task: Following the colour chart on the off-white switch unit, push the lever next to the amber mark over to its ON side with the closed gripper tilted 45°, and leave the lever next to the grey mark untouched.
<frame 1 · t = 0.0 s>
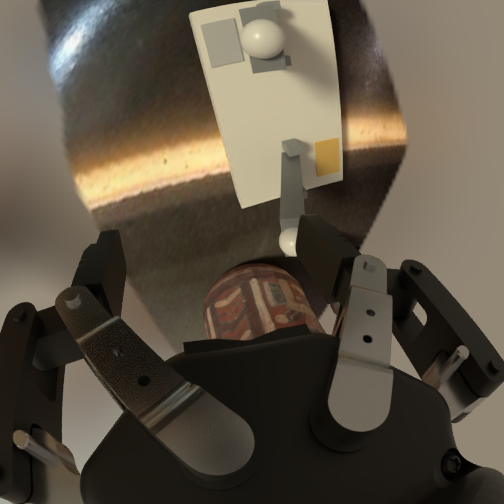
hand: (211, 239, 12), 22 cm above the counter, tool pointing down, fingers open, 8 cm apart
grey marked lever: (267, 35, 16), point 10 cm above the counter, hinge at -20.0°
switch unit: (273, 97, 29), on the counter
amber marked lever: (293, 201, 27), point 10 cm above the counter, hinge at -20.0°
pottery: (247, 285, 50), on the counter
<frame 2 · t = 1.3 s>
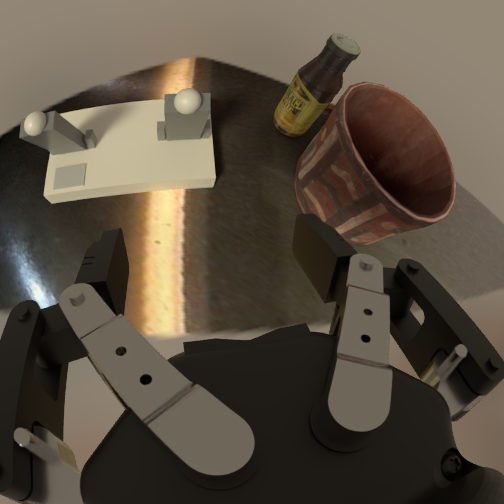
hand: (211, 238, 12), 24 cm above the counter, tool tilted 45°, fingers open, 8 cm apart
grey marked lever: (54, 134, 24), point 10 cm above the counter, hinge at -20.0°
switch unit: (129, 150, 36), on the counter
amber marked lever: (185, 118, 29), point 10 cm above the counter, hinge at -20.0°
pottery: (332, 199, 43), on the counter
sauce bottle: (289, 125, 44), on the counter
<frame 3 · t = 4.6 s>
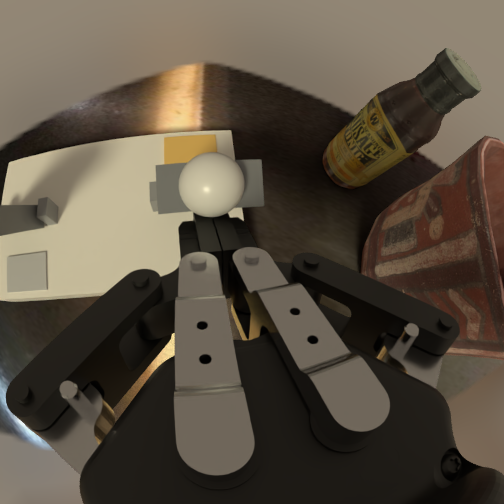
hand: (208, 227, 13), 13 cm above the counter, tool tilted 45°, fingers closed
switch unit: (110, 219, 24), on the counter
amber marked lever: (200, 192, 16), point 10 cm above the counter, hinge at -20.0°, touching gripper
pottery: (399, 277, 30), on the counter
sauce bottle: (342, 170, 31), on the counter
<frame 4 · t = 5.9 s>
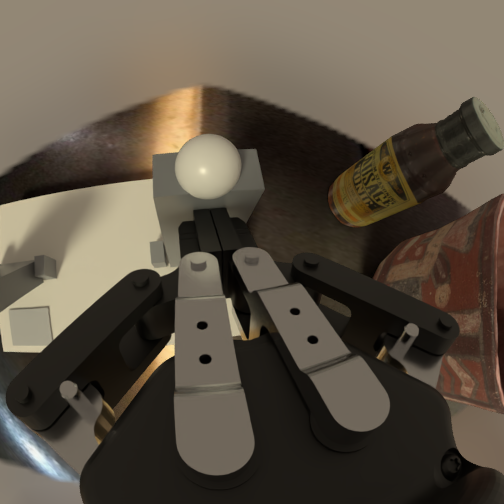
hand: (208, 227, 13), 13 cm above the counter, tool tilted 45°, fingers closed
switch unit: (111, 269, 24), on the counter
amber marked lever: (200, 219, 16), point 10 cm above the counter, hinge at 4.7°, touching gripper
pottery: (400, 313, 30), on the counter
sauce bottle: (347, 206, 31), on the counter
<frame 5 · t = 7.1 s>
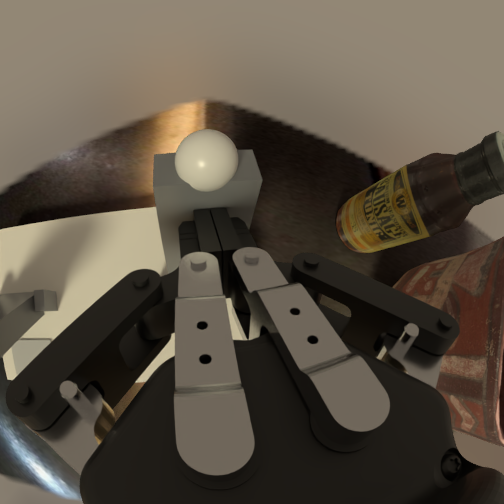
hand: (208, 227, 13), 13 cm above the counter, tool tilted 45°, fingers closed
switch unit: (113, 298, 23), on the counter
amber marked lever: (202, 235, 16), point 10 cm above the counter, hinge at 19.9°, touching gripper
pottery: (404, 337, 29), on the counter
sauce bottle: (355, 230, 30), on the counter
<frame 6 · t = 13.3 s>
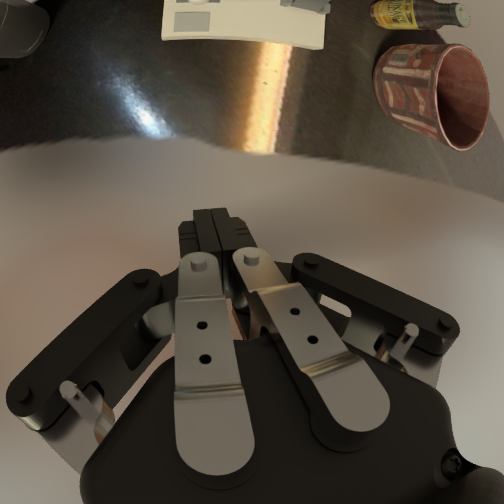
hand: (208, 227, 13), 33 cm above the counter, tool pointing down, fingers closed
switch unit: (245, 2, 30), on the counter
pottery: (394, 82, 42), on the counter
sauce bottle: (379, 16, 34), on the counter
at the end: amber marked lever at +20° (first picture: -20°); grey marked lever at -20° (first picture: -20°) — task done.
